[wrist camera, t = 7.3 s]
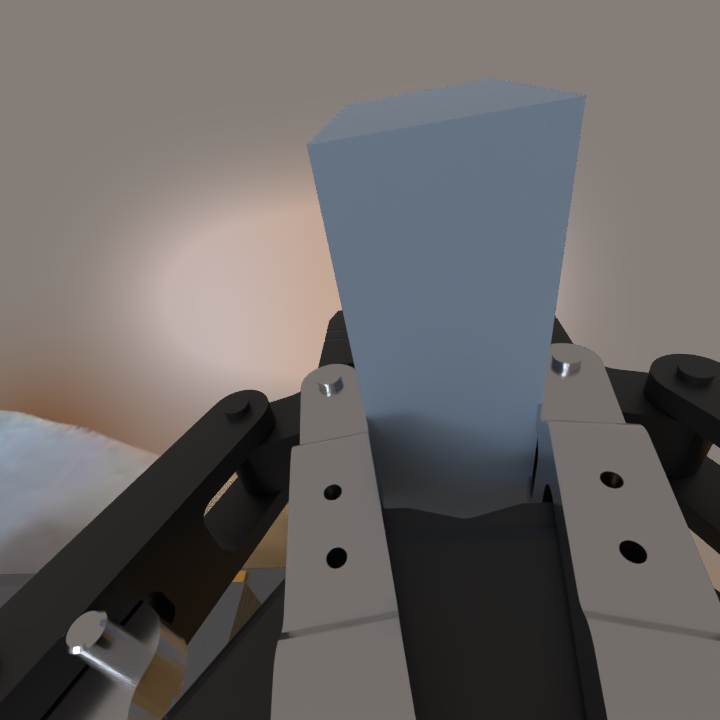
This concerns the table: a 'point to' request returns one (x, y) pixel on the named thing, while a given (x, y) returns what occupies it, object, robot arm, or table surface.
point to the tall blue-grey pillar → (450, 278)
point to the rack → (217, 627)
